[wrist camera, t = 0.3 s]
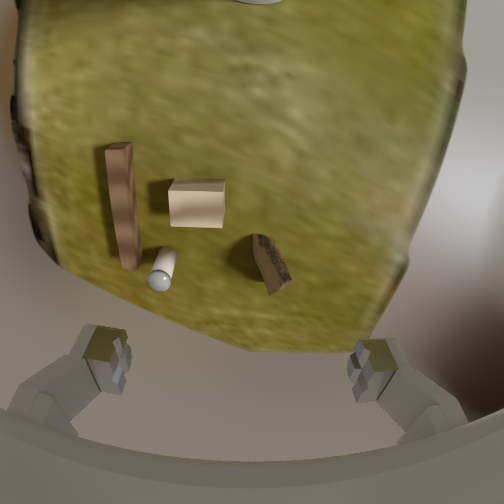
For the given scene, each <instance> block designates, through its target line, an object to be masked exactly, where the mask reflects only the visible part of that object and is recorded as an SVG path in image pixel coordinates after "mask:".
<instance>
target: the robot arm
mask: <svg viewBox="0 0 504 504" xmlns="http://www.w3.org/2000/svg"><path fill="white" fill-rule="evenodd" d="M237 1H240V2H244V3H250V4H269V3H275V2H279V1H282V0H237ZM127 338H128V337H127V333H126V331H125V330H123V329H117V328H110V327H105V326H98V325H92V324H86V325H84V327H83V328H82V330H81V332H80V334H79V336H78V338H77V340H76V342H75V344H74V346H73V347H72V349H71V352H70V353H69V355H64V356H62V357H61V358H59V359H58V360H56V361H54V362H53V363H52V364H50V365H48V366H47V367H45V368H44V369H42V370H41V371H39V372H37V373H36V374H34V375H33V376H31V377H30V378H28V379H27V380H25V381H24V382H22V383H21V384H19V386H18V388H17V390H16V392H15V394H14V396H13V398H12V401H11V403H10V405H9V407H8V409H7V411H6V410H4V409H2V408H0V504H504V409H502V410H499V411H497V412H495V413H493V414H490V415H488V416H486V417H483V418H481V419H478V420H476V421H473V422H471V423H468V421H467V419H466V417H465V415H464V413H463V411H462V408H461V406H460V405H459V402H458V400H457V399H456V398H455V397H453V396H452V395H451V394H449V393H448V392H446V391H445V390H444V389H442V388H441V387H439V386H438V385H437V384H435V383H434V382H433V381H431V380H430V379H429V378H427V377H426V376H424V375H423V374H422V373H420V372H419V371H417V370H416V369H415V368H413V369H411V367H410V365H409V363H408V361H407V359H406V357H405V355H404V353H403V351H402V349H401V347H400V345H399V343H398V341H397V340H396V339H395V338H384V339H368V340H358V341H357V342H356V343H355V346H354V350H355V352H354V353H353V354H352V355H351V356H350V358H349V360H348V364H347V374H348V377H349V380H350V381H351V382H353V383H354V386H353V388H352V390H353V394H354V397H355V400H356V403H362V402H371V401H377V403H378V404H379V405H380V406H381V407H382V408H383V409H384V410H385V411H386V412H387V413H388V414H389V415H390V416H391V417H392V419H394V421H395V422H396V423H397V424H398V425H399V426H400V427H401V428H402V429H403V430H404V431H405V432H406V433H405V434H404V435H403V436H402V437H401V438H400V439H399V440H398V442H397V445H396V446H391V447H387V448H382V449H377V450H372V451H366V452H361V453H355V454H348V455H342V456H334V457H326V458H316V459H306V460H293V461H267V462H239V461H214V460H201V459H190V458H180V457H172V456H164V455H157V454H151V453H145V452H139V451H134V450H129V449H124V448H119V447H115V446H110V445H106V444H102V443H98V442H94V441H90V440H87V439H83V438H80V437H78V433H77V431H76V430H75V429H74V427H73V426H72V425H71V423H70V421H71V420H72V419H73V418H74V417H75V416H76V415H77V414H78V413H79V412H80V411H81V410H83V409H84V408H85V407H86V406H87V405H88V404H89V403H90V402H91V401H92V400H93V399H94V398H95V397H96V396H97V395H98V394H100V392H106V393H112V394H118V395H122V392H123V389H124V386H125V382H126V379H125V376H124V374H126V373H127V372H128V371H129V369H130V366H131V359H132V355H131V348H130V346H129V345H128V344H127V343H126V341H127Z"/></svg>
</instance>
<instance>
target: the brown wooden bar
mask: <svg viewBox="0 0 504 504" xmlns="http://www.w3.org/2000/svg"><path fill="white" fill-rule="evenodd" d="M105 159H106V169H107V178H108V187H109V194H110V202H111V209H112V215H113V221H114V227H115V233H116V239H117V244H118V250H119V255H120V260H121V265H122V269H131V270H138V268H139V265H140V263H141V261H142V258H143V252H142V245H141V237H140V230H139V221H138V213H137V203H136V193H135V182H134V169H133V153H132V142H120V143H114V144H112V145H111V146H110V147H108V148H107V149H106V150H105Z"/></svg>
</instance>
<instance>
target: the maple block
mask: <svg viewBox="0 0 504 504" xmlns="http://www.w3.org/2000/svg"><path fill="white" fill-rule="evenodd" d="M168 196H169V210H170V223H171V226H180V227H208V228H222V226H223V218H224V199H225V179H193V178H175V179H174V181H173V183H172V184H171V186H170V188H169V190H168Z"/></svg>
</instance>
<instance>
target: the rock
mask: <svg viewBox="0 0 504 504" xmlns="http://www.w3.org/2000/svg"><path fill="white" fill-rule="evenodd" d="M252 238H253V255H254V259H255V261H256V263H257V265H258V267H259V269H260V272H261V274H262V276H263V281H264V283H265V285H266V288H267V290H268V293H269V296H270V295H272V294H274V293H276V292H279V291H281V290H284V289H287V288H288V286H290V285H291V284H292V282H293V279H292V276H291V274H290V272H289V269H288V267H287V265H286V263H285V262H284V259H283V258H282V255H281V252H280V250H279V247H278V245H277V242H276V241H275V240H273V239H271V238H269V237H267V236H264V235H257V234H253V235H252Z"/></svg>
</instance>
